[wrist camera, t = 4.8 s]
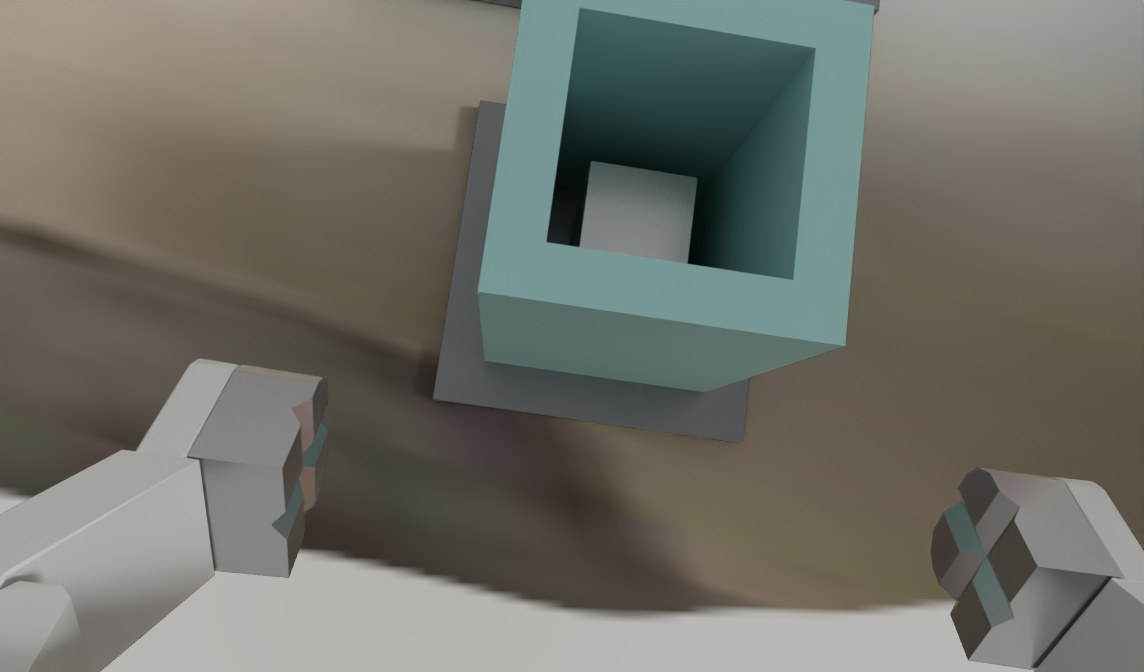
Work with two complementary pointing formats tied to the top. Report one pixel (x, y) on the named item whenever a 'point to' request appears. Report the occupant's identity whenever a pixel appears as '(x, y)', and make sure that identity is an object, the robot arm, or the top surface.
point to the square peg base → (595, 221)
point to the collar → (690, 148)
